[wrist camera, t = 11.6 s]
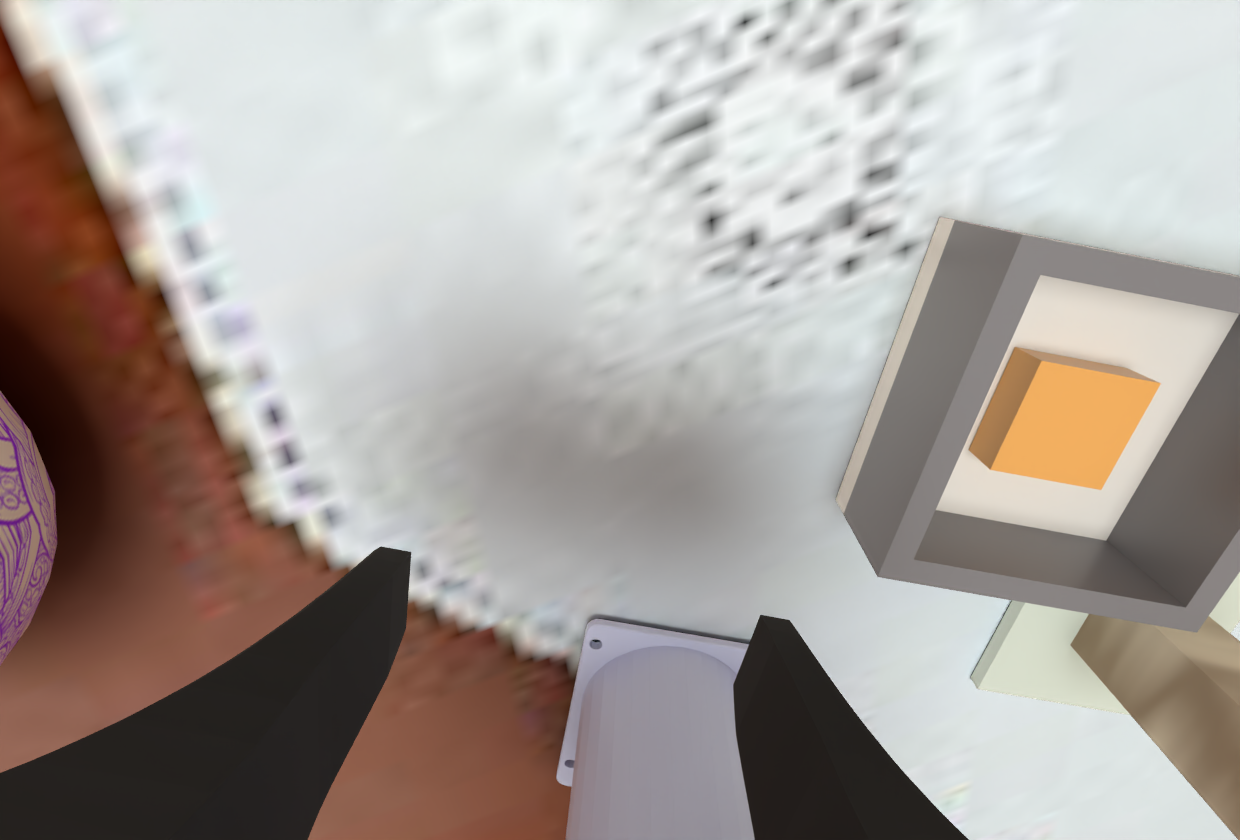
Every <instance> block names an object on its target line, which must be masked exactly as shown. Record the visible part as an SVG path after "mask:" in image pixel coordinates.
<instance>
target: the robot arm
mask: <svg viewBox="0 0 1240 840" xmlns="http://www.w3.org/2000/svg"><path fill="white" fill-rule="evenodd" d="M410 562H411V552H408V551H402V550H397V549H391V548H385V547H379V548H378V549H376V550H374V551H373V552H372V553H371V554H370V555H369V556H367V557H366V558H365V559H364V560H363V561H362V562H360V563H359V564H358V565H357V566H356V567H355V568H353V569H352V570H351V571H350V572H349V573H347V574H346V575H345V576H344V577H343V578H341V579H340V580H339V581H338V582H336V583H335V584H334V585H333V586H332V587H330V588H329V589H328V590H327V591H325V592H324V593H323V594H321V595H320V596H319V597H318V598H316V599H315V600H314V601H312V602H311V603H310V604H309V605H307V606H306V607H305V608H303V609H302V610H301V611H300V612H298V613H297V614H296V615H294V616H293V617H292V618H290V619H289V620H287V621H286V622H285V623H283V624H282V625H280V626H279V627H277V628H276V629H275V630H273V631H272V632H270V633H269V634H268V635H266V636H265V637H263V638H262V639H260V640H259V641H258V642H256V643H255V644H253V645H252V646H250V647H249V648H247V649H246V650H244V651H243V652H241V653H240V654H238V655H237V656H235V657H233V658H232V659H230V660H229V661H227V662H226V663H224V664H222V665H221V666H219V667H217V668H216V669H214V670H212V671H211V672H209V673H207V674H206V675H204V676H202V677H201V678H199V679H197V680H196V681H194V682H192V683H190V684H189V685H187V686H185V687H183V688H181V689H180V690H178V691H176V692H174V693H172V694H171V695H169V696H167V697H165V698H163V699H161V700H159V701H158V702H156V703H154V704H152V705H150V706H148V707H146V708H144V709H142V710H140V711H139V712H137V713H135V714H133V715H131V716H129V717H127V718H125V719H123V720H121V721H119V722H117V723H115V724H112V725H110V726H108V727H106V728H104V729H102V730H100V731H98V732H95V733H93V734H91V735H89V736H87V737H85V738H82V739H80V740H78V741H76V742H73V743H71V744H69V745H67V746H65V747H62V748H60V749H58V750H56V751H53V752H51V753H49V754H46V755H44V756H41V757H39V758H37V759H34V760H32V761H30V762H27V763H25V764H22V765H20V766H17V767H14V768H12V769H9V770H7V771H4V772H2V773H0V840H307V839H308V837H309V835H310V832H311V830H312V827H313V825H314V822H315V820H316V818H317V815H318V813H319V810H320V808H321V806H322V804H323V802H324V800H325V798H326V796H327V793H328V791H329V789H330V787H331V785H332V783H333V781H334V779H335V777H336V775H337V773H338V772H339V770H340V768H341V766H342V764H343V762H344V760H345V758H346V756H347V754H348V752H349V750H350V748H351V747H352V745H353V743H354V741H355V739H356V737H357V735H358V733H359V731H360V729H361V727H362V725H363V723H364V722H365V720H366V718H367V716H368V714H369V712H370V710H371V708H372V706H373V704H374V702H375V700H376V698H377V696H378V694H379V692H380V691H381V689H382V687H383V685H384V683H385V681H386V679H387V677H388V674H389V672H390V669H391V666H392V664H393V661H394V659H395V656H396V654H397V651H398V648H399V646H400V643H401V640H402V638H403V635H404V632H405V629H406V619H407V605H408V590H409V576H410ZM593 639H598V640H600V642H593V641H592V640H593ZM556 778H557V780H558V782H559V783H561V784H562V785H565V786H571V787H572V788H571V797H570V805H569V814H568V822H567V831H566V839H565V840H968V839H967V838H966V837H965V836H964V835H963V834H962V833H961V832H960V831H959V830H958V829H957V828H956V827H955V826H954V825H953V824H952V823H951V822H950V821H949V820H948V819H947V818H946V817H945V816H944V815H943V814H942V813H941V812H940V811H939V810H938V809H937V808H936V807H935V806H934V805H933V804H932V803H931V801H930V800H929V799H928V798H927V797H926V796H925V795H924V794H923V793H922V792H921V791H920V790H919V788H918V787H917V786H916V785H915V784H914V783H913V782H912V781H911V780H910V779H909V778H908V776H907V775H906V774H905V773H904V772H903V771H902V770H901V769H900V767H899V766H898V765H897V764H896V763H895V762H894V760H893V759H892V758H891V757H890V756H889V755H888V753H887V752H886V751H885V750H884V748H883V747H882V746H881V745H880V743H879V742H878V741H877V740H876V739H875V737H874V736H873V735H872V734H871V732H870V731H869V730H868V729H867V727H866V726H865V725H864V724H863V722H862V721H861V720H860V718H859V717H858V716H857V714H856V713H855V712H854V711H853V709H852V708H851V707H850V705H849V704H848V703H847V701H846V700H845V698H844V697H843V696H842V694H841V693H840V692H839V690H838V689H837V687H836V686H835V685H834V683H833V682H832V680H831V679H830V678H829V676H828V675H827V673H826V672H825V671H824V669H823V668H822V666H821V665H820V663H819V662H818V661H817V659H816V658H815V656H814V655H813V653H812V652H811V650H810V649H809V648H808V646H807V645H806V643H805V642H804V640H803V639H802V637H801V636H800V634H799V633H798V632H797V630H796V629H795V627H794V626H793V625H792V623H791V622H790V620H786V619H780V618H775V617H769V616H764V615H760V618H759V620H758V623H757V625H756V628H755V631H754V633H753V636H752V638H751V641H750V643H749V644H744V643H738V642H732V641H726V640H721V639H715V638H709V637H703V636H697V635H691V634H685V633H679V632H674V631H668V630H662V629H656V628H650V627H644V626H638V625H632V624H627V623H621V622H615V621H609V620H603V619H594V620H591V621H590V622H589V623H588V624H587V626H586V631H585V636H584V641H583V646H582V651H581V655H580V660H579V665H578V670H577V675H576V680H575V685H574V690H573V695H572V700H571V705H570V710H569V715H568V719H567V724H566V729H565V734H564V739H563V744H562V749H561V754H560V759H559V764H558V769H557V775H556Z"/></svg>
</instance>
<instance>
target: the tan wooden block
mask: <svg viewBox="0 0 1240 840" xmlns="http://www.w3.org/2000/svg"><path fill="white" fill-rule="evenodd" d="M1070 645H1071V647H1072V648H1073V649H1074V650H1075V651H1076V652H1077V653H1078V655H1079V656H1080V657H1081V658H1082V659H1083V660H1084V662H1085V663H1086V664H1087V665H1088V666H1089V667H1090V669H1091V670H1092V671H1093V672H1094V673H1095V674H1096V675H1097V677H1098V678H1099V679H1100V680H1101V681H1102V682H1103V684H1104V685H1105V686H1106V687H1107V688H1108V689H1109V691H1110V692H1111V693H1112V694H1113V695H1114V696H1115V697H1116V699H1117V700H1118V701H1119V702H1120V703H1121V704H1122V706H1123V707H1124V708H1125V709H1126V710H1127V711H1128V713H1129V714H1130V715H1131V716H1132V717H1133V718H1134V720H1135V721H1136V722H1137V723H1138V724H1139V725H1140V726H1141V728H1142V729H1143V730H1144V731H1145V732H1146V733H1147V735H1148V736H1149V737H1150V738H1151V739H1152V740H1153V742H1154V743H1155V744H1156V745H1157V746H1158V747H1159V748H1160V750H1161V751H1162V752H1163V753H1164V754H1165V755H1166V757H1167V758H1168V759H1169V760H1170V761H1171V762H1172V764H1173V765H1174V766H1175V767H1176V768H1177V769H1178V770H1179V772H1180V773H1181V774H1182V775H1183V776H1184V777H1185V779H1186V780H1187V781H1188V782H1189V783H1190V784H1191V786H1192V787H1193V788H1194V789H1195V790H1196V791H1197V792H1198V794H1199V795H1200V796H1201V797H1202V798H1203V799H1204V801H1205V802H1206V803H1207V804H1208V805H1209V806H1210V808H1211V809H1212V810H1213V811H1214V812H1215V813H1216V814H1217V816H1218V817H1219V818H1220V819H1221V820H1222V821H1223V823H1224V824H1225V825H1226V826H1227V827H1228V828H1229V830H1230V831H1231V832H1232V833H1233V834H1234V835H1235V836H1236V838H1237V839H1238V840H1240V641H1239V640H1237V639H1236V638H1235V637H1234V636H1232V635H1231V634H1230V633H1229V632H1228V631H1226V630H1225V629H1224V628H1223V627H1222V626H1220V625H1219V624H1218V623H1217V622H1215V621H1214V620H1213V619H1212V618H1211V617H1209V616H1208V618H1207V619H1206V620H1205V622H1204V623H1203V625H1202V626H1201V628H1200V629H1199V630H1198V632H1197V633H1196V632H1190V631H1184V630H1179V629H1173V628H1167V627H1161V626H1156V625H1150V624H1144V623H1139V622H1133V621H1127V620H1122V619H1116V618H1110V617H1104V616H1099V615H1093V614H1089V615H1088V616H1087V618H1086V620H1085V621H1084V623H1083V625H1082V626H1081V628H1080V630H1079V631H1078V633H1077V634H1076V636H1075V638H1074V639H1073V641H1072V643H1071V644H1070Z"/></svg>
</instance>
